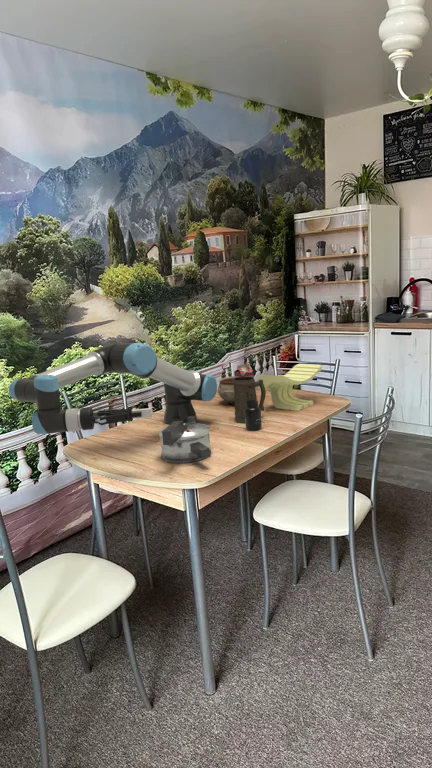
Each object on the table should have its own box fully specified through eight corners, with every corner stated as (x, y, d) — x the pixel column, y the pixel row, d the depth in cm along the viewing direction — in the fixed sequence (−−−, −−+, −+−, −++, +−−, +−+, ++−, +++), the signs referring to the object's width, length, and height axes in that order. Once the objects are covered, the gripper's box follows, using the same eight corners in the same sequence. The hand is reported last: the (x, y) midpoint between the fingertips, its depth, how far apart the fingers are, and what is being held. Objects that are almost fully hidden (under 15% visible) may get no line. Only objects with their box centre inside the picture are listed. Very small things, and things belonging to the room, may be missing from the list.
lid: (171, 424, 213) (169, 409, 211) (216, 424, 208) (215, 408, 206) (142, 449, 185) (140, 431, 184) (194, 449, 180) (192, 431, 179)
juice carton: (255, 409, 260) (252, 364, 256) (244, 411, 257) (240, 366, 253) (248, 406, 266) (245, 362, 262) (236, 409, 263) (233, 364, 259)
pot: (152, 451, 208) (150, 431, 207) (196, 442, 216) (194, 422, 214) (182, 474, 181) (179, 452, 179) (231, 463, 188) (229, 441, 187)
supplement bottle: (260, 430, 224) (259, 402, 221) (244, 431, 225) (242, 403, 223) (262, 426, 230) (261, 398, 228) (247, 426, 232) (245, 399, 229)
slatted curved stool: (295, 397, 277) (294, 363, 274) (322, 400, 267) (321, 364, 263) (260, 411, 256) (257, 374, 252) (288, 414, 245) (285, 376, 242)
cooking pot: (230, 396, 292) (228, 374, 290) (263, 397, 284) (261, 374, 281) (210, 407, 270) (207, 384, 268) (244, 409, 262) (243, 384, 260)
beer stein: (240, 424, 235) (240, 380, 232) (229, 420, 244) (228, 377, 241) (270, 420, 242) (269, 377, 238) (257, 416, 251) (257, 374, 248)
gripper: (85, 425, 188) (153, 418, 190) (79, 435, 175) (152, 428, 177) (82, 404, 187) (150, 397, 189) (76, 412, 174) (149, 405, 176)
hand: (151, 412), depth 183 cm, fingers closed
